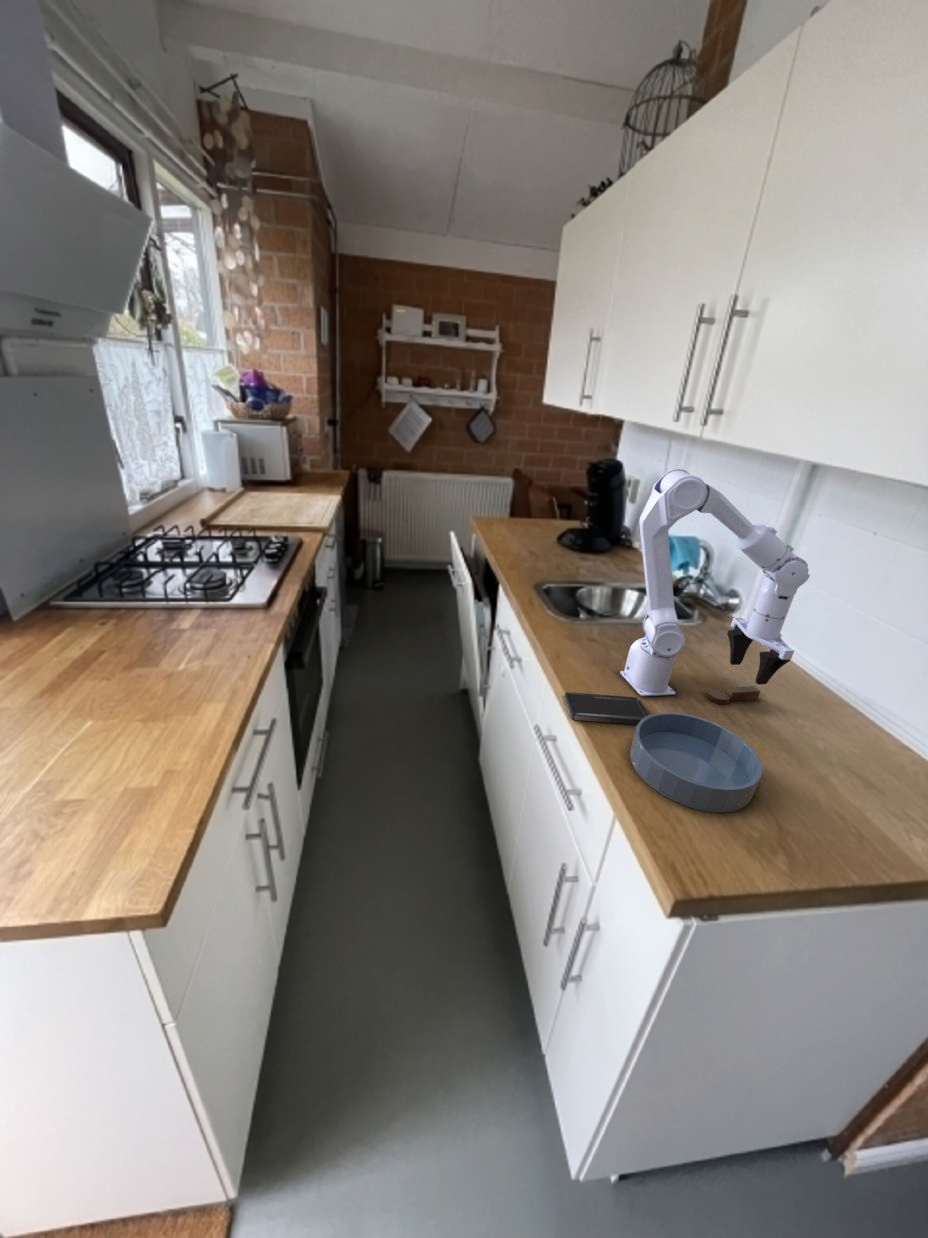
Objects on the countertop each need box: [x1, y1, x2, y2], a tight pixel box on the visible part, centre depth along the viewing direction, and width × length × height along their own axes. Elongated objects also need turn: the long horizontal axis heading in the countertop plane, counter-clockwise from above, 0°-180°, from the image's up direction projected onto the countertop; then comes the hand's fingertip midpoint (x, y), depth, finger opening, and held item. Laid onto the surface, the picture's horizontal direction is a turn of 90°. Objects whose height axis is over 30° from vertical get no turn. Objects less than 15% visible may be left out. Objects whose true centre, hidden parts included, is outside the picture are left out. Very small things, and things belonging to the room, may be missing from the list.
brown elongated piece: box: [707, 685, 761, 706], centre depth 106 cm, size 11×4×2 cm, turn 102°
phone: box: [563, 691, 650, 726], centre depth 98 cm, size 8×1×15 cm
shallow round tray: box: [629, 711, 764, 814], centre depth 84 cm, size 19×19×4 cm
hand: (747, 673), depth 104 cm, fingers open, 7 cm apart
